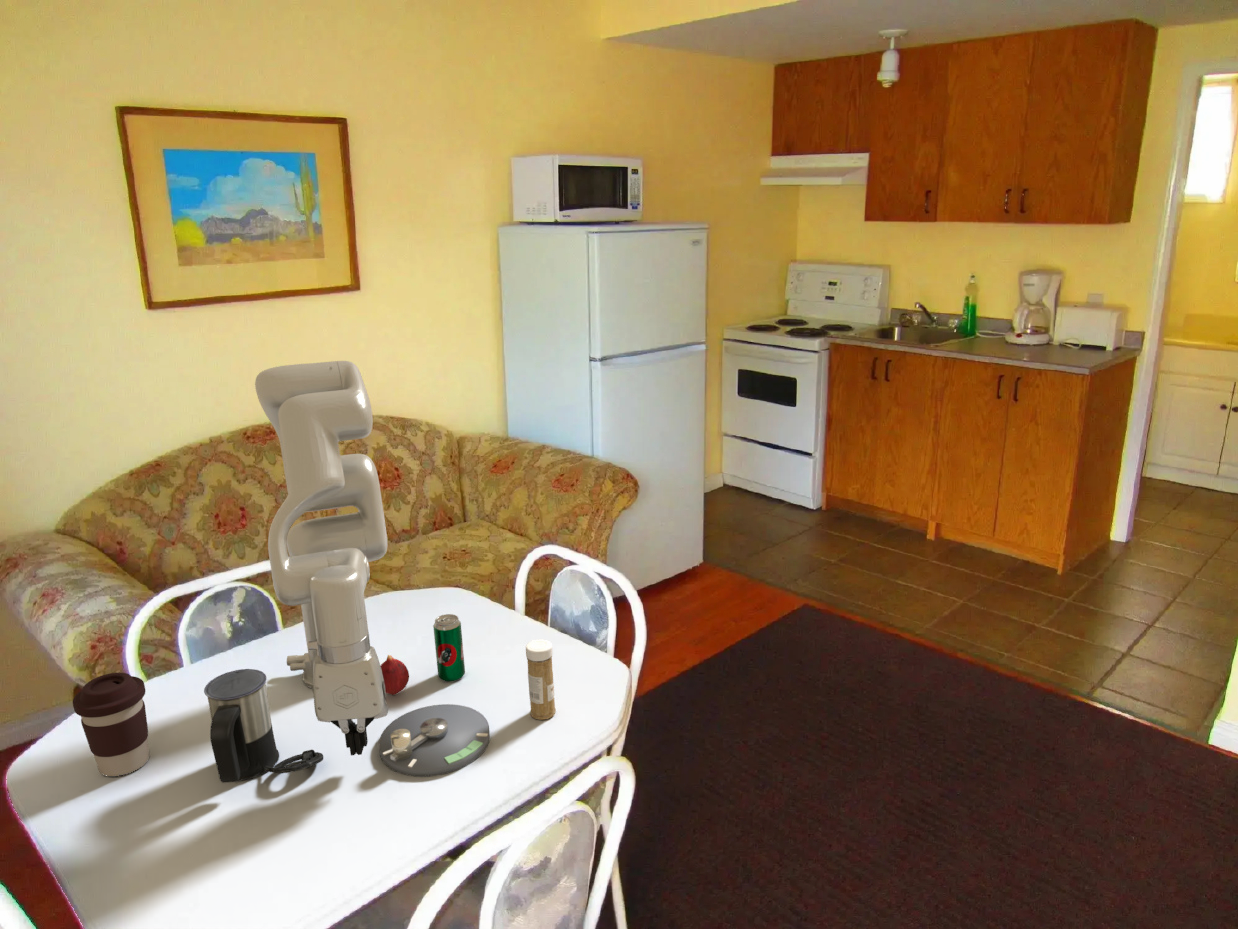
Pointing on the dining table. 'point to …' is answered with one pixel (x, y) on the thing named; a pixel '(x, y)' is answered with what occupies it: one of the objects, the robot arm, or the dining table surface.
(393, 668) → the onion
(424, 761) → the dial
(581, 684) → the dining table surface
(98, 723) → the coffee cup
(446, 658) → the soda can
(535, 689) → the spice jar
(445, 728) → the needle
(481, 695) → the dining table surface
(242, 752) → the milk frother
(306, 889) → the dining table surface
